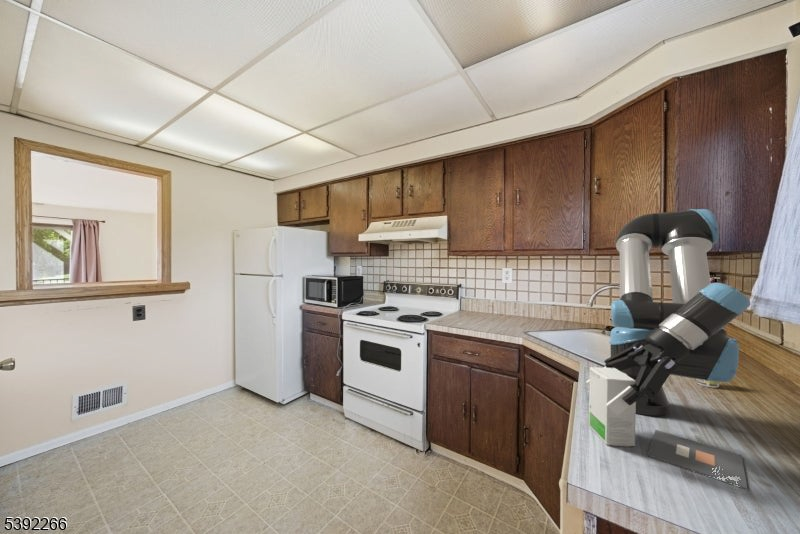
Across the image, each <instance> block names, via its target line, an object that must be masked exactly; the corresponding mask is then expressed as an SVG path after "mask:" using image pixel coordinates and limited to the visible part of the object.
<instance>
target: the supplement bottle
mask: <svg viewBox="0 0 800 534" xmlns="http://www.w3.org/2000/svg"><path fill="white" fill-rule="evenodd" d="M695 381H696V384H697V385H699V386H701V387H706V388H711V389H712V388H714V389H717V388H719V387H720V382H717V381H706V380H702V379H695Z"/></svg>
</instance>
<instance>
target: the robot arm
mask: <svg viewBox="0 0 800 534" xmlns="http://www.w3.org/2000/svg"><path fill="white" fill-rule="evenodd" d="M719 232H720V231H719V225H718V220H717V218H716V216H715V214H714V213H713V212H712V211H711V210H710V209H706V208H700V209H699V208H697V209H694V208H690V209H687V210H677V211H666V212H665V211H664V212H656V213H645V214H642V215H640V216H637V217H635V218H633V219H632V220H630V221H629V222H627V223H626V224H625V225H624V226H623V227H622V228H621V230H620V231H619V232H618V234H617V236H616V239H615V247H616V248H615V249H616V250H617V251H618V253H619V299H618V300H613V301H611V306H610V307H611V308H610V309H611V310H610V311H611V313H610V315H611V324H612V325H613V326H614V328H612V329H611V331H610V335H609V337H610V338H609V339H610V340H609V345H610V357H608V358H606V359H604V360H603V361H604V362H603V363H605V364H604V366H603V368H616V369H617V370H619V371H621V372H622V373H625V374H627V376H629V377H630V378H632V379H634V380H635V383H634V384H630V386H631V387H632V388H631V387H630V386H628V387H627V388H626V389H625V390H623V391H622V392H621V393H619V394H618V395H617V396H616V397H614V398H613V399H612V400H611V401H609V402H608V403H607V404H606V405H607V406H608V407H609V408H610V409H611V410H612V411H613V412H614V413H615V414H616V415H619V414H620V413H621V412H623V411H624V410H625V409H626V408H628V407H629V406H630V405H632V404H633V403H634V402H636V414H637V415H638V414H640V415H644V416H654V417H657V416H665V415H668V414H669V413H670V402H669V400H668V398H667V395H666V393H665V390H664V387H663V385H664V384H665V383H666V381H667V380H668V378H669V376H670V375H671V376H678V377H682V378H689V379H695V380H696V379H702V380H706V381H717V382H719V383H728V382H731V381H733V380H734V378H735V377H736V374H737V371H738V366H739V357H740V347H739V344H738V340H737V338H733V337H730V336H729V337H728V335H727V330H726V329H725V328H724V327H726V326H727V325H729V323H731V322H732V321H733V320H734V319H736V318H737V317H739V316H741V315H743V312H745V311H746V310H747V309H748V308H749V307H750V306H751V300H750V299H749V297H748V296H747V295H746V294H744V293H743V292H742V291H740V290H738V289H737V288H734V287H733V286H731V285H729V284H726V283H721V282H711V276H710V270H709V269H710V268H709V261H708V256H707V255H708V254H707V253H708V252H709V251H711V249H712V248H713V245H715V244H717V243H718V242H719V237H720V235H719V234H720V233H719ZM651 248H661V251H662V253H663V254H665V255H666V256H668V265H669V273H670V274H669V277H670V289H671V299H672V302H662V301H659V302H658V301H654V297H653V284H652V273H651V262H650V253H649V252H650V250H651ZM585 383H586V384H587V385H588V386H590V378H589V379H587V380H586V381H585Z"/></svg>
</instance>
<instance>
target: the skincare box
mask: <svg viewBox="0 0 800 534" xmlns="http://www.w3.org/2000/svg"><path fill="white" fill-rule="evenodd" d="M589 379H590V386H589V385H588V386H589V389H588V390H589V395H588V396H589V398H588V399H589V403H588V427H589V428H590V430H592V432H593V433H594V434H595V435H598V438H599V439H600V440H601V441H602V442H603V444H605V445H606V446H611V445H612V446H613V447H614V446H616V447H629V446H635V447H636V414H637V413H636V402H634V403H633V404H632V405H630V406H629V407H628V408H626V409H625V410H624V411H623V412H621V413H620V414H619V415H616V414H615V413H614V412H613V411H612V410H611V409H610V408H609V407H608V406H607V405H606V404H607V403H608V402H609V401H611V400H612V399H613V398H614V397H616V396H617V395H618V394H619V393H621V392H622V391H623V390H625V389H626V388H627V387H628V386H630V384H634V383H635V380H634V379H632V378H630V377H629V376H627V374H625V373H622V372H621V371H619V370H617V369H616V368H604V367H598V366H597V367H596V366H595V367H593V366H590V367H589ZM630 387H631V386H630ZM631 388H632V387H631Z"/></svg>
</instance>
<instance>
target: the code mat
mask: <svg viewBox="0 0 800 534" xmlns="http://www.w3.org/2000/svg"><path fill="white" fill-rule="evenodd" d="M647 457H650V458H652V459H656V460H659V461H661V462H665V463H668V464H671V465H673V466H676V467H679V468H682V469H684V468H686V469H685V470H687V469H690V470H693V471H695V472H694V473H696V472H698V473H697V474H699V473H701V474H700V475H702V474H704V475H703V476H705V475H707V476H706V477H708V476H711V477H715V478H717V477H719V476H720V478H722V477H723V476H724V478H726V477H728V476H730V477H732V476H733V477H735V476H737V477H740V479H741V480H739V479H738V480H739V481H737V483H738V484H736V481H734V480H730V479H729V478H727V479H728V480H727V479H725V481H726V482H728V483H732V484H735V485H738V486H740V487H742V488H744V489H743V490H745V489H747V490H746V491H748V490H749V489H748V486H747V485H748V483H747V478H746V473H745V467H744V462H743V457H742V454H741V453H736V452H734V451H729V450H726V449H722V448H720V447H716V446H713V445H710V444H706V443H702V442H699V441H695V440H692V439H689V438H687V437H686V438H684V437H682V436H678V435H675V434H671V433H668V432H664V431H662V430H658V429H655V431H654V434H653V436H652V439H651V442H650V446H649V450H648V452H647ZM719 466H720V470H719ZM716 467H717V469H716V472H713V471H714V470H715V468H716ZM712 468H714V469H713V470H712ZM722 469H723V470H722ZM690 470H689V471H690ZM718 470H719V472H718V473H717V471H718ZM693 471H692V472H693ZM712 472H713V473H712ZM715 473H716V475H715ZM719 473H720V474H719ZM718 474H719V475H718ZM722 474H723V475H722ZM711 477H710V478H711ZM718 479H719V478H718ZM721 480H722V479H721ZM728 483H727V484H728ZM740 487H739V488H740ZM742 488H741V489H742Z"/></svg>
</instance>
